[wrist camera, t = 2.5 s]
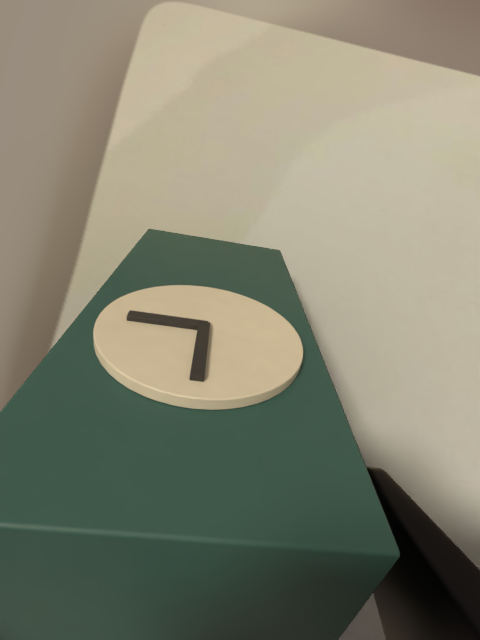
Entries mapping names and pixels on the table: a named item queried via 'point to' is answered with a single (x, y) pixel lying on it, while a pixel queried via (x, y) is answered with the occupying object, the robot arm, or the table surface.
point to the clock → (186, 464)
